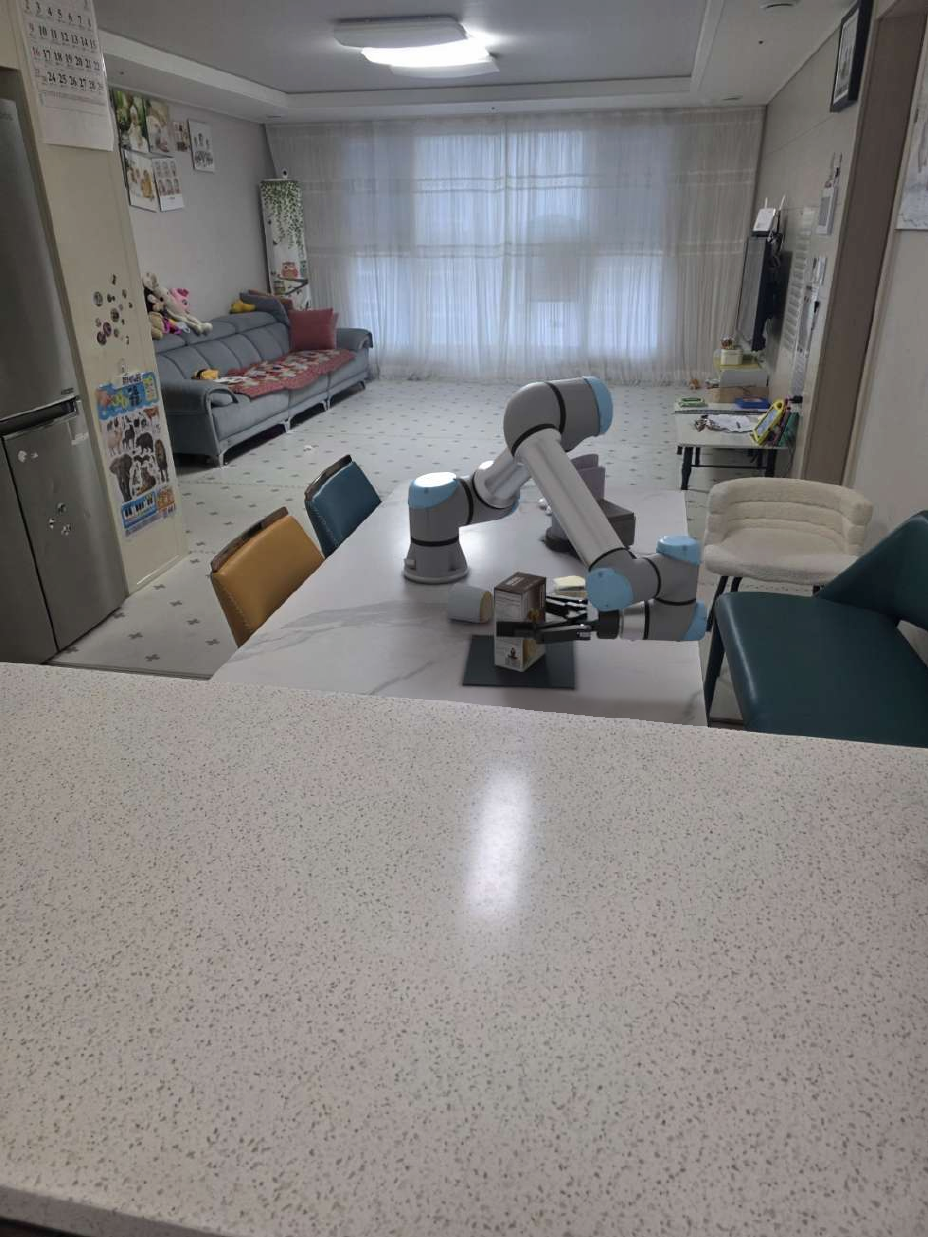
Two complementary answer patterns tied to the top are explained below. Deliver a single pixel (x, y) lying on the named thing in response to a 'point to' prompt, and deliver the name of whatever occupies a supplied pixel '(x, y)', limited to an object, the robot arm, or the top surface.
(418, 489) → the robot arm
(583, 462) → the coffee machine
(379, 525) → the top surface
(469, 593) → the light grey tapered cylinder
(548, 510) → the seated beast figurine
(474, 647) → the mat
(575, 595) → the stacked layers on plate
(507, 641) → the coffee box
